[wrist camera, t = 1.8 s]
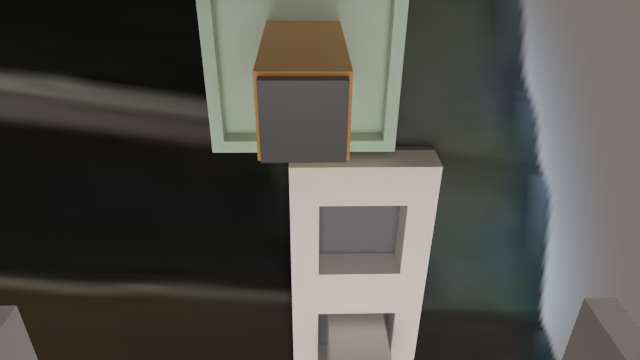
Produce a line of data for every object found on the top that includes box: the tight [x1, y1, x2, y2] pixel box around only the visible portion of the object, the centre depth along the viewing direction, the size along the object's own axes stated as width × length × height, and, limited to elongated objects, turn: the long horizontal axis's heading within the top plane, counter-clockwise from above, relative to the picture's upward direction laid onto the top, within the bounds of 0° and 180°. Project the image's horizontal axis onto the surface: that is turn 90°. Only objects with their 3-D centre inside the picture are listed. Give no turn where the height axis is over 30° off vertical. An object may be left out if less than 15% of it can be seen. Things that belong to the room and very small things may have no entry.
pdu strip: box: [289, 146, 443, 360], centre depth 40 cm, size 22×10×3 cm, turn 0°
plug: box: [253, 21, 353, 163], centre depth 27 cm, size 4×4×10 cm
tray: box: [196, 0, 409, 153], centre depth 31 cm, size 12×12×2 cm
